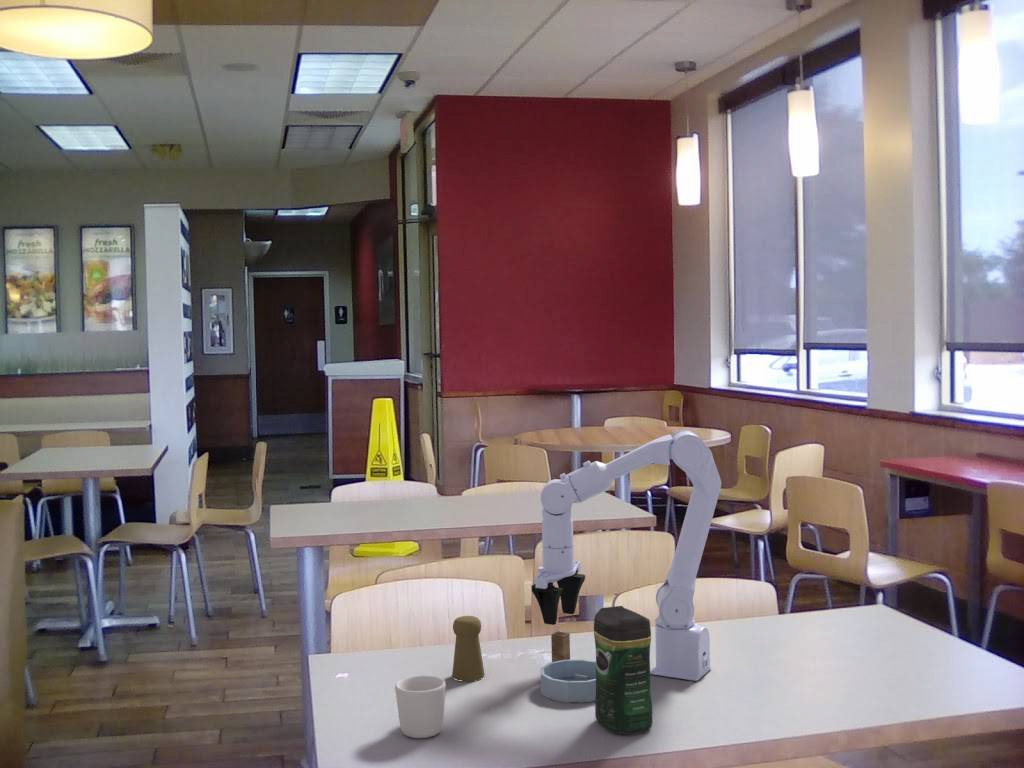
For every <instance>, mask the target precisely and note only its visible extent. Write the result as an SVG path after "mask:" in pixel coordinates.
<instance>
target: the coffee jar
mask: <svg viewBox="0 0 1024 768" xmlns="http://www.w3.org/2000/svg"><path fill="white" fill-rule="evenodd" d="M651 629H652V628H651V621H650V619H649V618H647V617H645V616H644V615H641V614H640V613H637V612H636V611H632V610H631V609H629V608H625V606H623V605H619V606H618V605H617V606H616V605H615V606H608V607H602V608H600V609H599V610H598V611H597V612H596V614H595V615H594V619H593V637H594V638H593V639H594V643H595V661H596V698H595V701H594V702H595V703H594V704H595V705H594V706H595V707H594V708H595V711H594V712H595V713H594V715H595V716H594V717H595V719H596V721H597V722H598V723H599V724H600V725H601V726H602V727H603V728H605V729H606V730H607V731H609V732H612V733H614V734H629V735H638V734H641V733H643V732H644V731H647V730H649V729H651V728H652V727H653V723H654V722H653V704H652V703H653V700H652V698H653V697H652V685H651V674H650V669H651V657H650V656H651V655H650V654H651V653H650V652H651V642H652V632H651V631H652V630H651Z"/></svg>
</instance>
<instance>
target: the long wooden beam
mask: <svg viewBox="0 0 1024 768" xmlns="http://www.w3.org/2000/svg"><path fill="white" fill-rule="evenodd" d="M570 634H571V633H570V632H567V631H566V632H564V631H558V630H557V631H555V632H554V633H552V634H551V636H550V637H551V662H556V661H561V660H571V640H570V639H571V638H570V636H571V635H570Z"/></svg>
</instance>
